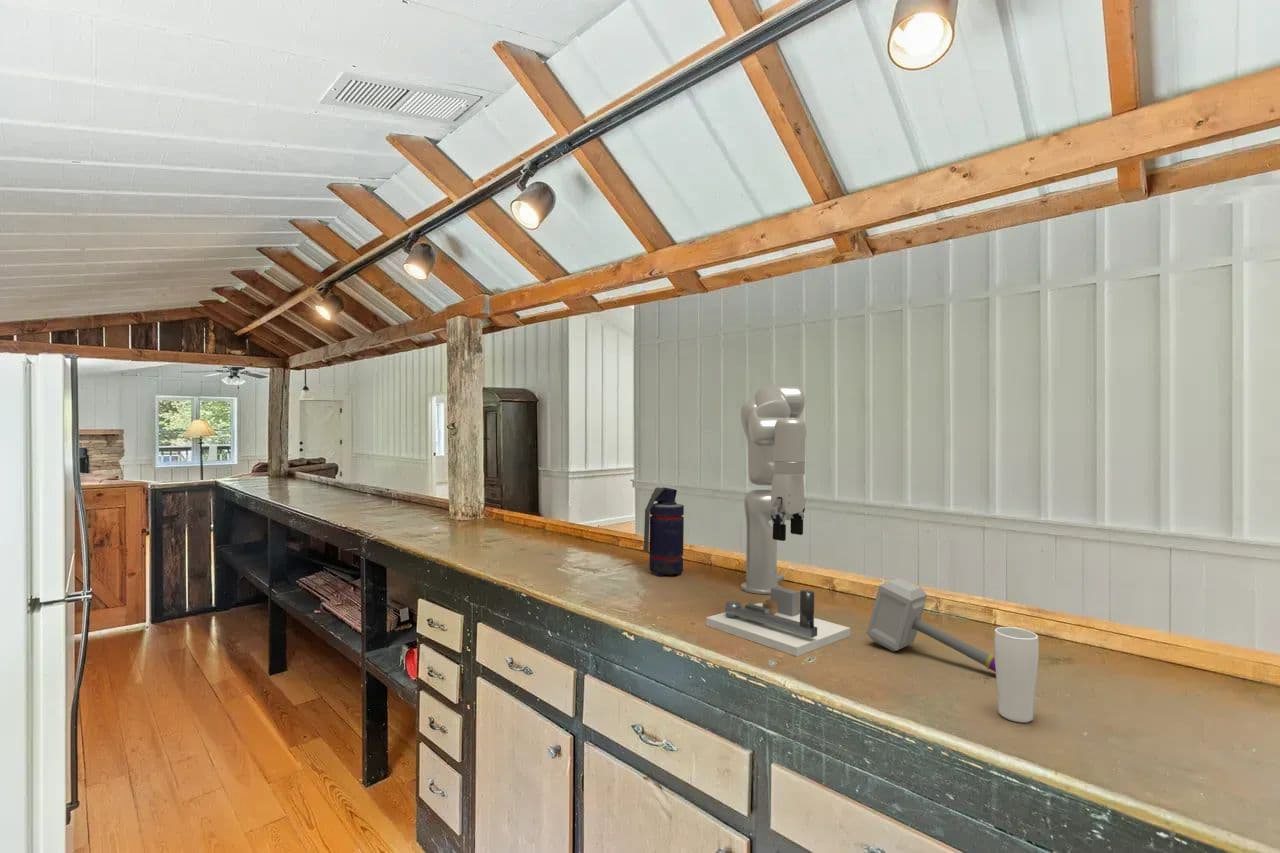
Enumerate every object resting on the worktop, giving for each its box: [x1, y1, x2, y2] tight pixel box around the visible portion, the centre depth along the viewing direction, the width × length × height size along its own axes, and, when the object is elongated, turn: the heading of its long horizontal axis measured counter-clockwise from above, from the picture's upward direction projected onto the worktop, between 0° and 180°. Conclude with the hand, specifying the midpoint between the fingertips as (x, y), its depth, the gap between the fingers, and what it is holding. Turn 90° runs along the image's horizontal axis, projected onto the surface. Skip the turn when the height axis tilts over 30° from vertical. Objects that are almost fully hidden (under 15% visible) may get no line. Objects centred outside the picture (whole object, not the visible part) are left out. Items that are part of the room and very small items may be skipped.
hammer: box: [866, 577, 996, 673], centre depth 136 cm, size 15×8×30 cm
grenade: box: [643, 486, 685, 578], centre depth 216 cm, size 14×12×30 cm
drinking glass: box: [993, 626, 1040, 723], centre depth 110 cm, size 7×7×15 cm
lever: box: [725, 589, 817, 638], centre depth 152 cm, size 26×5×10 cm, turn 42°
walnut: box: [762, 598, 778, 615], centre depth 160 cm, size 4×4×4 cm
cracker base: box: [705, 586, 851, 657], centre depth 155 cm, size 28×22×8 cm
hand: (788, 537), depth 153 cm, fingers open, 9 cm apart
